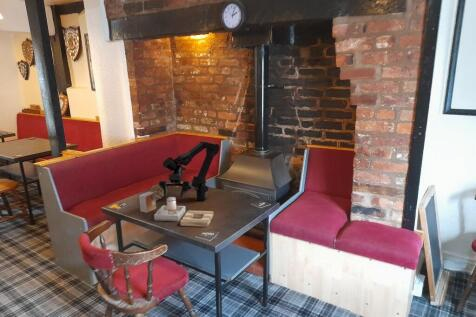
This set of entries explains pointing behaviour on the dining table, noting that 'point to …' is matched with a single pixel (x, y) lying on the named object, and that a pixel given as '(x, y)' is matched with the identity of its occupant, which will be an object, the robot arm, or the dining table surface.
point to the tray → (163, 215)
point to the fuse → (171, 206)
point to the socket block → (204, 222)
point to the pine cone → (157, 192)
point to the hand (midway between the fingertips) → (172, 198)
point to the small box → (147, 202)
